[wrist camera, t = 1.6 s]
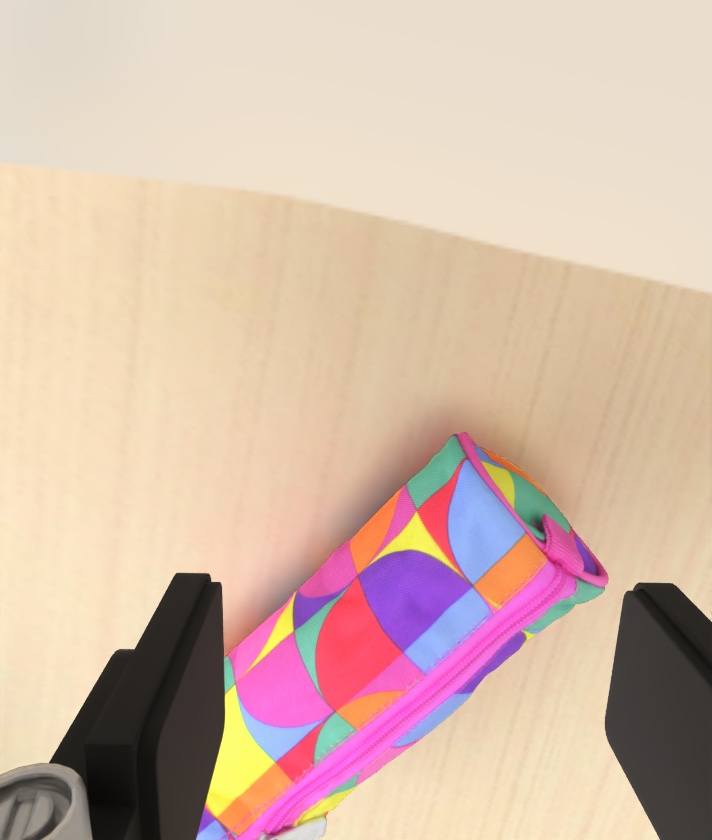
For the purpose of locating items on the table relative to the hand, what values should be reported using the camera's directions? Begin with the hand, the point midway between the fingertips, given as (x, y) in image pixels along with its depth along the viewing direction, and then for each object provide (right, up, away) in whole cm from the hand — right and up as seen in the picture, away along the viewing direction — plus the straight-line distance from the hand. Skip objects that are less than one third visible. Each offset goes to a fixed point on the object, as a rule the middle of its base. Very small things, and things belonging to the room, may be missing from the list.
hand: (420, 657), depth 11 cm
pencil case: (-1, -5, +22) cm, 23 cm away
